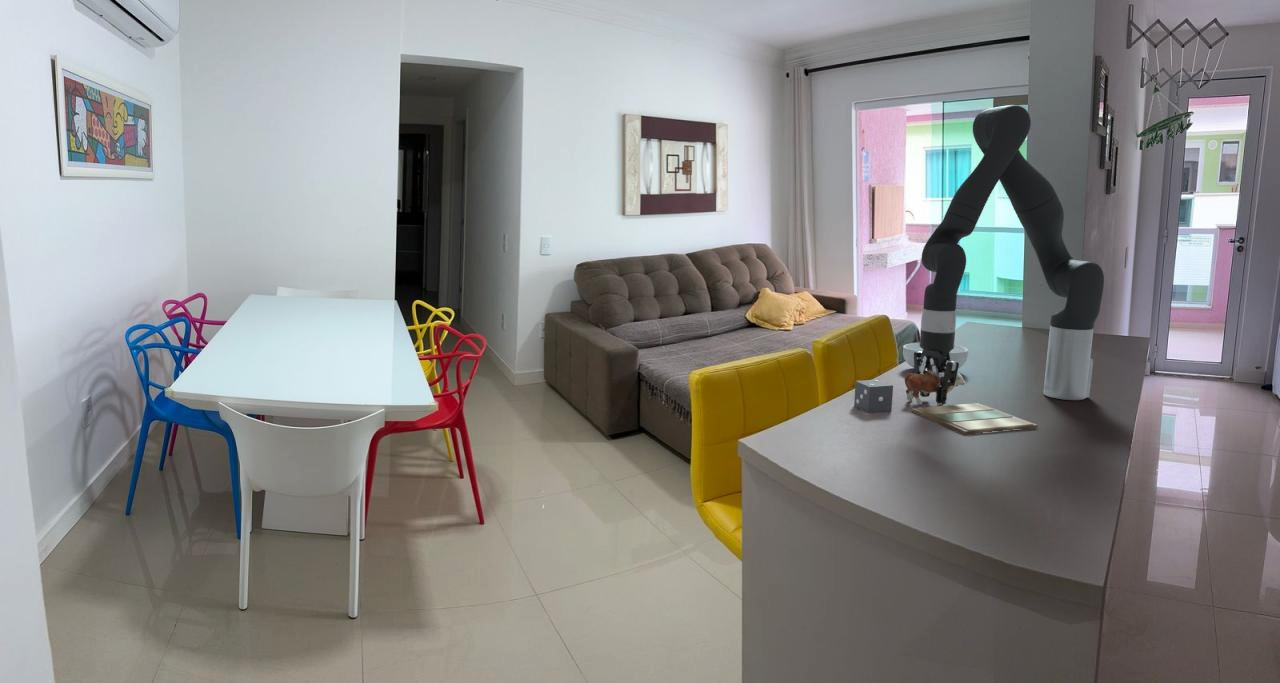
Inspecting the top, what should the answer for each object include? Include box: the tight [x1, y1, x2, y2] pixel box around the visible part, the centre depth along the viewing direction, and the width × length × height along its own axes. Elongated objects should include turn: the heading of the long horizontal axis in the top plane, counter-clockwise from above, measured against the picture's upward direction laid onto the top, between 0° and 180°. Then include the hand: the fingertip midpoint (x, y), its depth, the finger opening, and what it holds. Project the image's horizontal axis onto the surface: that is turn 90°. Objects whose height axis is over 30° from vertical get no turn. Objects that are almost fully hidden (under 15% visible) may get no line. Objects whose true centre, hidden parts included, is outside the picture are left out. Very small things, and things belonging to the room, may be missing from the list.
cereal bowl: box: [902, 342, 969, 374], centre depth 216 cm, size 17×17×7 cm
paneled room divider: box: [911, 402, 1039, 436], centre depth 169 cm, size 18×18×1 cm
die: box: [853, 379, 894, 414], centre depth 177 cm, size 6×6×6 cm
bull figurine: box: [904, 371, 966, 406], centre depth 181 cm, size 4×13×8 cm, turn 78°
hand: (932, 399), depth 182 cm, fingers closed on bull figurine, 5 cm apart
